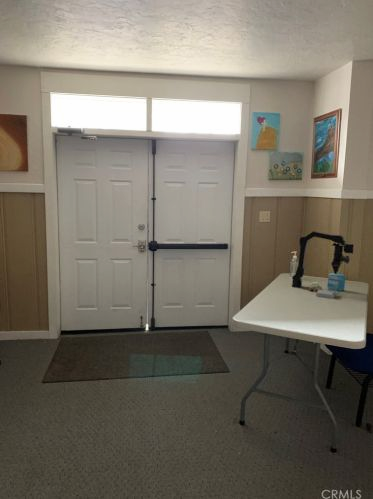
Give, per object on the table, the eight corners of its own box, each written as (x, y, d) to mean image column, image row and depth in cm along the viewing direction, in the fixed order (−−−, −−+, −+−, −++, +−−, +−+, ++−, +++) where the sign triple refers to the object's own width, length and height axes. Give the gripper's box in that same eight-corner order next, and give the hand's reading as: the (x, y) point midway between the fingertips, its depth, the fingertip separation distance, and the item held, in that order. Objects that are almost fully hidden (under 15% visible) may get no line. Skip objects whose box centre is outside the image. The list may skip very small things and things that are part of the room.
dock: (316, 296, 283) (316, 290, 282) (318, 292, 291) (318, 287, 291) (333, 298, 277) (334, 293, 277) (335, 295, 286) (336, 290, 285)
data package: (326, 289, 302) (328, 274, 300) (327, 287, 306) (329, 272, 304) (343, 291, 297) (345, 276, 295) (344, 290, 301) (345, 274, 299)
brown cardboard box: (308, 290, 296) (308, 286, 295) (309, 289, 300) (309, 284, 300) (320, 292, 292) (321, 288, 291) (321, 291, 296) (322, 286, 296)
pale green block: (312, 286, 295) (312, 282, 294) (313, 285, 298) (313, 281, 298) (317, 287, 293) (318, 283, 293) (318, 286, 296) (318, 282, 296)
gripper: (348, 255, 279) (346, 276, 281) (351, 251, 295) (349, 271, 298) (332, 253, 284) (330, 274, 286) (335, 250, 300) (333, 270, 303)
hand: (336, 272), depth 293 cm, fingers open, 9 cm apart
